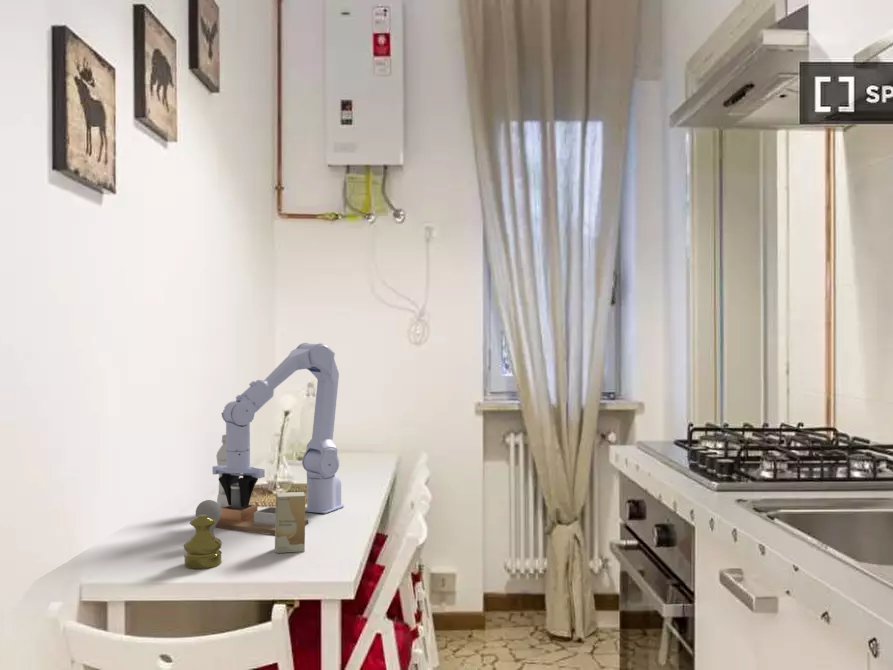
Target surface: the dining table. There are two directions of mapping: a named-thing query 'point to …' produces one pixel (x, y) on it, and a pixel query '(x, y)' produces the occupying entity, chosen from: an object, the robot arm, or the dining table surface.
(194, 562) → the gold chess piece
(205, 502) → the light bulb
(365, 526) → the dining table surface
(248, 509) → the copper collar
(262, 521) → the steel collar
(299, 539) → the skincare box
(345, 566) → the dining table surface
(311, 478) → the robot arm
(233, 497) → the grey domed cylinder
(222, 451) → the plastic bottle
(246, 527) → the walnut board
